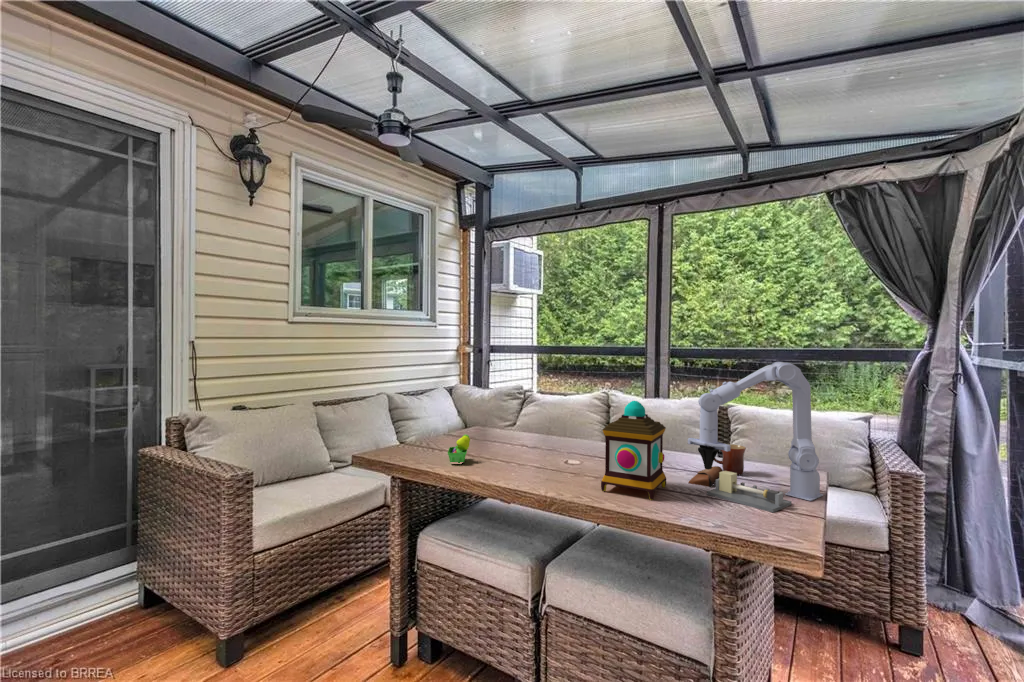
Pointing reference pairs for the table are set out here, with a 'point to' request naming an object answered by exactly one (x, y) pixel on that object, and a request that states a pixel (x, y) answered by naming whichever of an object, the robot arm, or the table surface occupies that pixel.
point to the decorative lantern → (634, 451)
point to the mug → (733, 459)
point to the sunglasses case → (706, 477)
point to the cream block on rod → (727, 481)
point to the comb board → (752, 497)
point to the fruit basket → (459, 450)
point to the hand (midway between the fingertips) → (708, 468)
